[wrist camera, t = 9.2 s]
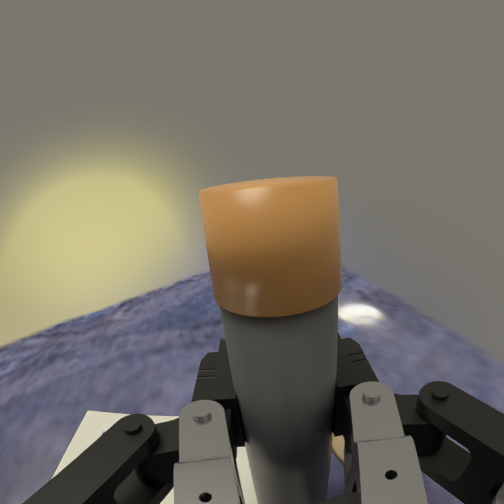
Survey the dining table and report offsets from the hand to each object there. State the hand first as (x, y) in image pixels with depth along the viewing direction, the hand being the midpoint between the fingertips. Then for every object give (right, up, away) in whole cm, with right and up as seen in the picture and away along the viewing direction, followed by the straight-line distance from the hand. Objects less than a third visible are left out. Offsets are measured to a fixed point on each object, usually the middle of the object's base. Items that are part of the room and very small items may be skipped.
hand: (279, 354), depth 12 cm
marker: (+1, -7, -1) cm, 8 cm away
